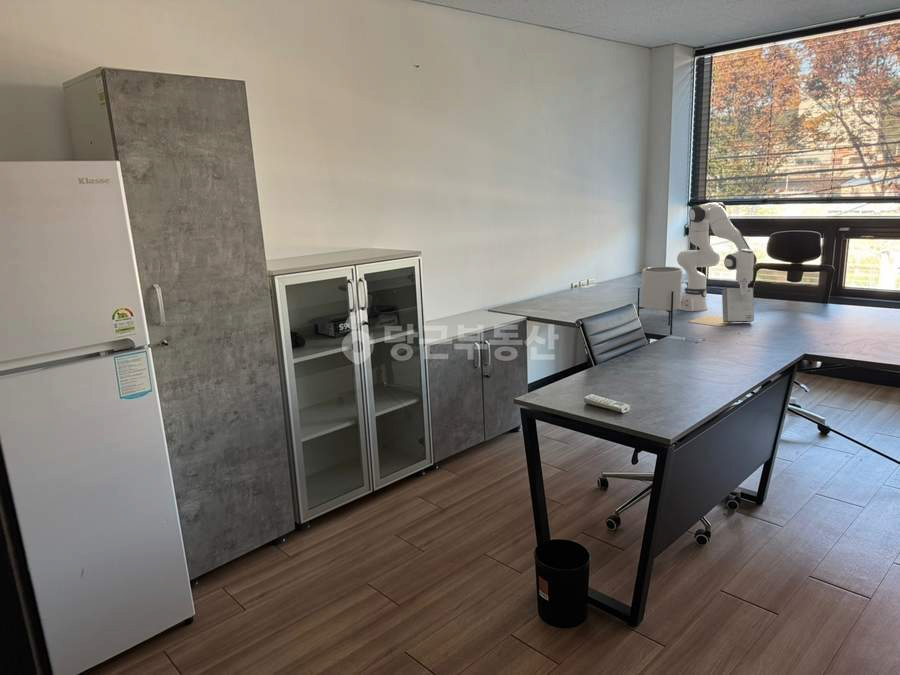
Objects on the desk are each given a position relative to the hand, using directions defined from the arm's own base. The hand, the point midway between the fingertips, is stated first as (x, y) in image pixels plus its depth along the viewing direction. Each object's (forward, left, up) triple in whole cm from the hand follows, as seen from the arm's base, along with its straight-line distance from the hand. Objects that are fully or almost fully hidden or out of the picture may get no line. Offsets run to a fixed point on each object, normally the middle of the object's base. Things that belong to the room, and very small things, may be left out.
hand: (742, 300), depth 355 cm
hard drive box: (-2, 0, -13) cm, 13 cm away
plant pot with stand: (-32, -37, -15) cm, 51 cm away
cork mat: (-17, 0, -14) cm, 22 cm away
